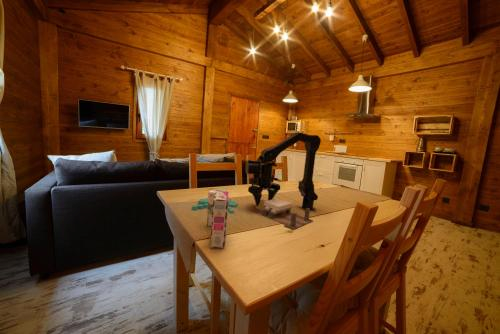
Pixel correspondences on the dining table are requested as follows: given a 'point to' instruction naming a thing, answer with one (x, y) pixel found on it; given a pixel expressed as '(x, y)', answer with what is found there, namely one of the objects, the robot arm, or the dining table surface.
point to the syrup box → (211, 205)
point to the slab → (277, 204)
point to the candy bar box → (219, 220)
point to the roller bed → (285, 217)
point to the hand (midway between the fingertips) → (263, 204)
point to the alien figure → (204, 204)
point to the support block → (261, 205)
